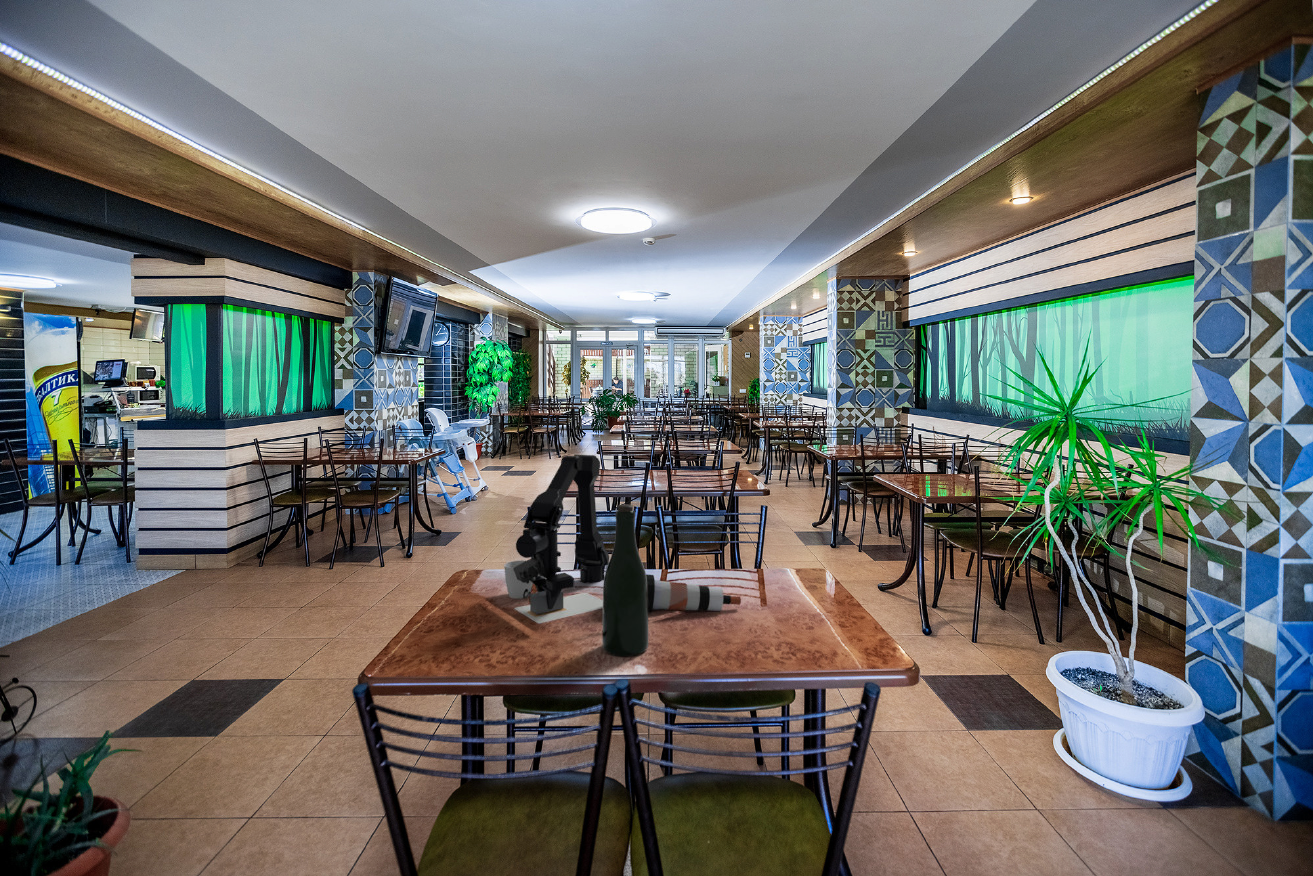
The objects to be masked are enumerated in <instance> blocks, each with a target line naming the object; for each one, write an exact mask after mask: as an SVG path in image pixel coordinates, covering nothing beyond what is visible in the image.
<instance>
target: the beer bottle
mask: <svg viewBox="0 0 1313 876" xmlns="http://www.w3.org/2000/svg"><path fill="white" fill-rule="evenodd" d="M633 509H634V506H633V505H632V504H625V503H624V504H619V505H618V506H617V510H616V512H615V536H614V537H615V538H614V545H613V550H612V553H611V556H610V557H609V563H608V565H606V569H605V571H604V580H603V589H602V600H603V608H602V624H601V625H602V627H601V628H602V635H601V636H602V642H601V643H602V648H603V650H604V651H605V652H606V653H608V654H610V655H613V656H617V657H632V656H637V655H641V654H642V653H644V652H645V651H646V650H647V649H648V647H649V613H648V588H647V577H646V574H647V572H646V569H645V567H644V564H643V561H642V558H641V556H640V553H639V550H638V546H637V539H636V527H635V526H636V524H635V522H636V520H635V519H636V513H635V512H636V511H635V510H633Z"/></svg>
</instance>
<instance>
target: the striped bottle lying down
mask: <svg viewBox="0 0 1313 876" xmlns="http://www.w3.org/2000/svg"><path fill="white" fill-rule="evenodd" d="M646 577H647V588H648V614H649V613H652V612H653V610H657V611H658V610H668V611H669V610H670V611H674V610H677V611H686V610H687V611H717V612H721V611H722V609H723V605H737V606H738V605H739V606H740V604H741V602H742V598H741V596H739V595H737V596H736V595H728V594H724V590H723V588H722V587H719V586H718V587H717V586H716V587H715V586H709V585H698V584H688V583H686V582H676V581H675V582H673V581H661V580H657V579H655V576H654V574H648V573H646Z"/></svg>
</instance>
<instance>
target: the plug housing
mask: <svg viewBox="0 0 1313 876" xmlns="http://www.w3.org/2000/svg"><path fill="white" fill-rule="evenodd" d="M563 597H564V591H563V590H562V591H561V592H560V594H559V596H558V598H557V600H556V602H555V605H554V607H553V609H550V610H549V609H548V605H547V598H546V591H542V592H533V593H532V592H531V594H530V596H529V605H530V611H531V612H533V613H535V614H536V615H537V614H541V613H546V612H550V611H554V610H559V609H563Z"/></svg>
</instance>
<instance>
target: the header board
mask: <svg viewBox="0 0 1313 876" xmlns="http://www.w3.org/2000/svg"><path fill="white" fill-rule="evenodd" d="M513 609H514V610H516V611H518V612H519V613H520V614H522V615H523V616H526V617H527V618H529V619H531V620H532V621H533V622H536V623H537V624H538V625H539V624H544V623H547V622H551V621H556V620H560V619H564V618H568V617H572V616H576V615H582V614H584V613H589V612H593V611H594V612H595V611H597V610H601V609H602V610H603V599H600V598H599V597H596V596H594V595H592V594H590V593H588V592H582V593H577V594H576V593H575V594H573V595H568V596H563V609H559V610H554V611H550V612H546V613H541V614H537V615H536V614H535V613H533V612H531V611H530V604H527V605H523V606H518V607H514V608H513Z"/></svg>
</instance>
